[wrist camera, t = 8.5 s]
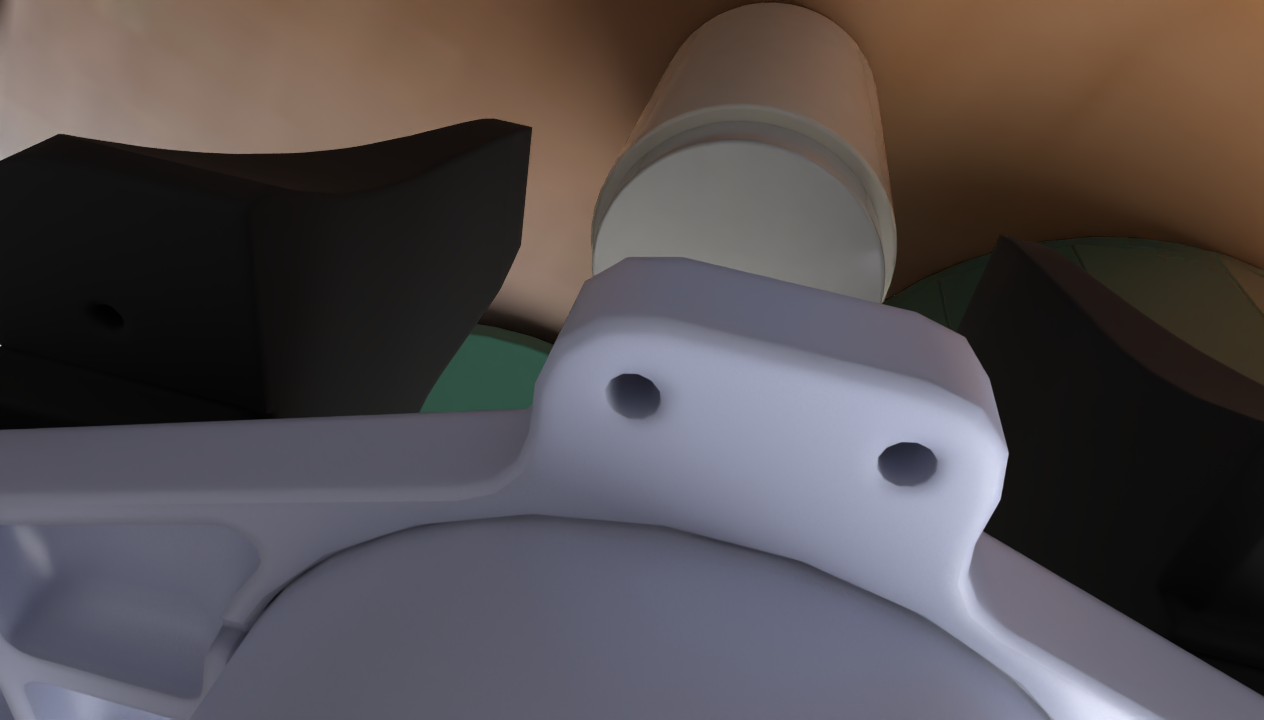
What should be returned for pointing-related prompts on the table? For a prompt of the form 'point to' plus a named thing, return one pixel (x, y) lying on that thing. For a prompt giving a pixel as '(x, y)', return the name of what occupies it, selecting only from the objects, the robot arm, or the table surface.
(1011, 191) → the table surface
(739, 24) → the salt shaker
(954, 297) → the pot
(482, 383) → the lid
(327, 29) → the table surface
